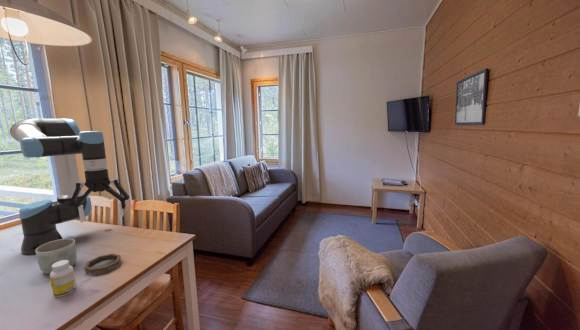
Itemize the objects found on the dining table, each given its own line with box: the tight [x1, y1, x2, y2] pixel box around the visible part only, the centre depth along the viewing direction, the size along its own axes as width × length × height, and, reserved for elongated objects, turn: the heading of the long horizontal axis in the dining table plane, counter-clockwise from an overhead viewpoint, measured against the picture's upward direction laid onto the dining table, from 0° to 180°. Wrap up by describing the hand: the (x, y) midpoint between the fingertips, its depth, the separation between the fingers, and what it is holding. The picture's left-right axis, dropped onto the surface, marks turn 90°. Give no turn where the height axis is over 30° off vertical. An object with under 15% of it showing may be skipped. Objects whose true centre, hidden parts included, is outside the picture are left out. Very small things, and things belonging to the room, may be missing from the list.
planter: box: [35, 238, 77, 275], centre depth 106 cm, size 12×12×11 cm
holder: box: [84, 253, 122, 276], centre depth 107 cm, size 12×12×3 cm
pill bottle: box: [49, 260, 77, 298], centre depth 91 cm, size 6×6×12 cm
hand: (103, 218), depth 103 cm, fingers open, 13 cm apart
